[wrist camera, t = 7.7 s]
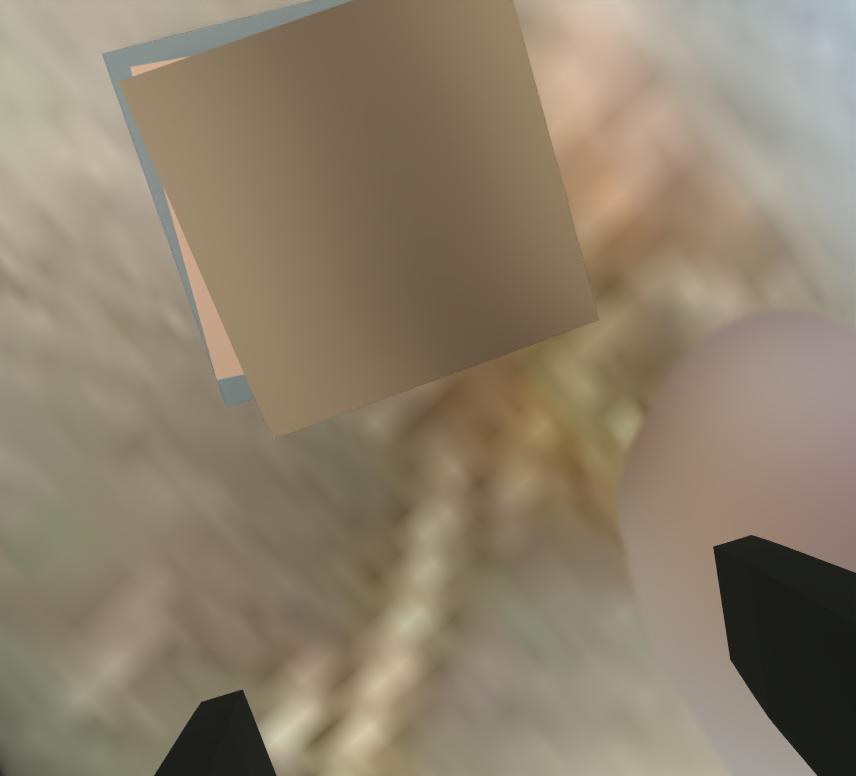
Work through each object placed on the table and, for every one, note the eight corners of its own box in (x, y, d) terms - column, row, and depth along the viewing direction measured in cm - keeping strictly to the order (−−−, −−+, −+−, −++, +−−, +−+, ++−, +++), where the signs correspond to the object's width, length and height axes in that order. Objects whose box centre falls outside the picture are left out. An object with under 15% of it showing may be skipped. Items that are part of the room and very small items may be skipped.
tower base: (236, 379, 21) (226, 406, 18) (129, 68, 18) (102, 53, 16) (519, 299, 21) (545, 316, 19) (451, -14, 19) (470, -40, 16)
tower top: (230, 352, 18) (216, 380, 16) (157, 81, 16) (130, 67, 14) (478, 300, 18) (501, 319, 16) (433, 31, 17) (453, 9, 14)
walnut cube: (286, 357, 16) (271, 439, 11) (185, 110, 14) (118, 81, 9) (515, 274, 16) (599, 320, 11) (439, 21, 14) (499, -51, 10)
